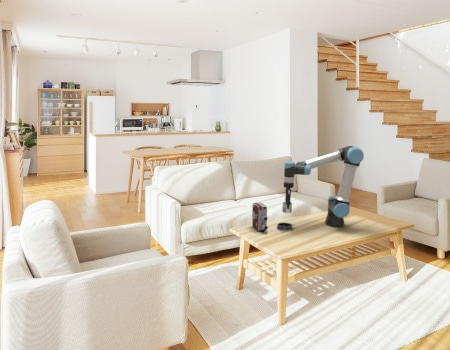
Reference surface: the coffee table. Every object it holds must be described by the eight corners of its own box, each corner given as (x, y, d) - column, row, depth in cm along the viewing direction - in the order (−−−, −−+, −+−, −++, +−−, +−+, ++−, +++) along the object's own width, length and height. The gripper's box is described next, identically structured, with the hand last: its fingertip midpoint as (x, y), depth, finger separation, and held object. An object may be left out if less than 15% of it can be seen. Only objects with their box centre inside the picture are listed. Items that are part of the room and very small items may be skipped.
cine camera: (259, 234, 291) (259, 208, 287) (250, 226, 309) (250, 201, 306) (270, 233, 293) (271, 207, 290) (261, 225, 312) (262, 201, 308)
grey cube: (290, 210, 306) (291, 201, 305) (292, 213, 299) (292, 203, 298) (281, 210, 306) (282, 201, 305) (283, 212, 299) (283, 203, 298)
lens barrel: (292, 226, 311) (292, 222, 310) (294, 231, 298) (294, 227, 298) (275, 225, 312) (275, 222, 311) (276, 230, 299) (277, 227, 298)
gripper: (282, 179, 309) (281, 207, 313) (284, 184, 289) (283, 214, 293) (292, 179, 308) (290, 208, 312) (295, 184, 289) (293, 215, 293)
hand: (287, 211), depth 303 cm, fingers closed on grey cube, 7 cm apart
